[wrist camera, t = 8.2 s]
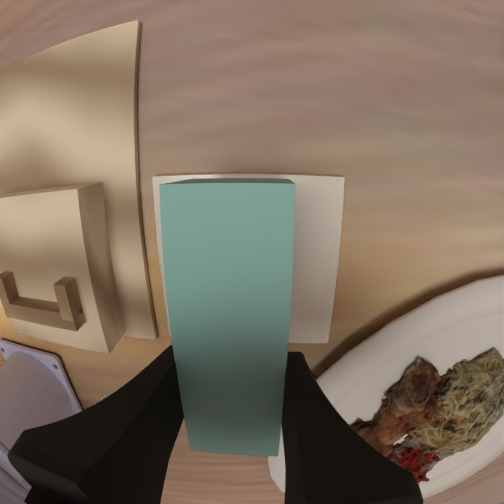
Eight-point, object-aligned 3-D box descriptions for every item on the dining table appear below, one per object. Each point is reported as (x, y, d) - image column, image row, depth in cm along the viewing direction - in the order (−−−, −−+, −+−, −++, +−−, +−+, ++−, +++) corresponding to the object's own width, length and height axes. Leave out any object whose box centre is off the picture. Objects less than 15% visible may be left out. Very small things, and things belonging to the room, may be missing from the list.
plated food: (591, 258, 14) (613, 272, 11) (487, 465, 24) (494, 482, 21) (266, 270, 16) (264, 301, 13) (268, 507, 26) (267, 531, 23)
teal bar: (278, 402, 14) (278, 456, 11) (205, 398, 14) (190, 449, 11) (288, 178, 11) (295, 183, 8) (191, 178, 11) (159, 184, 8)
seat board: (158, 336, 18) (136, 376, 14) (22, 315, 19) (-7, 340, 15) (141, 22, 12) (107, -4, 8) (-6, 75, 13) (-44, 73, 9)
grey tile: (326, 336, 17) (328, 342, 17) (172, 331, 18) (169, 336, 17) (341, 175, 14) (344, 177, 14) (156, 175, 15) (152, 176, 14)
